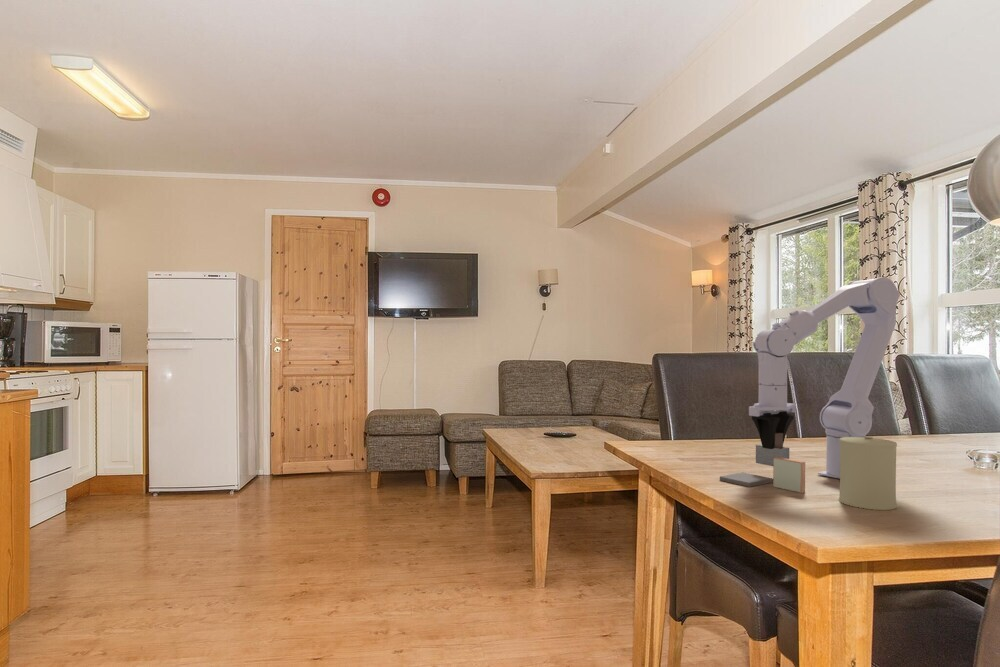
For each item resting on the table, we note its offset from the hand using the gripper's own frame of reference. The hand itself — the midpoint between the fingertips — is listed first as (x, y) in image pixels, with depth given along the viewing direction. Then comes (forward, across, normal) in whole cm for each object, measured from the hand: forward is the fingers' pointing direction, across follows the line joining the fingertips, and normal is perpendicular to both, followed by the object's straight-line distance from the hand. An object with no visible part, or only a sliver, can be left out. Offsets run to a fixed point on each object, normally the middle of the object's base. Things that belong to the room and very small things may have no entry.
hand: (772, 447), depth 136 cm
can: (+7, +5, +22) cm, 23 cm away
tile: (+7, +7, +8) cm, 13 cm away
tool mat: (+6, +8, -1) cm, 10 cm away
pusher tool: (+4, 0, 0) cm, 4 cm away
